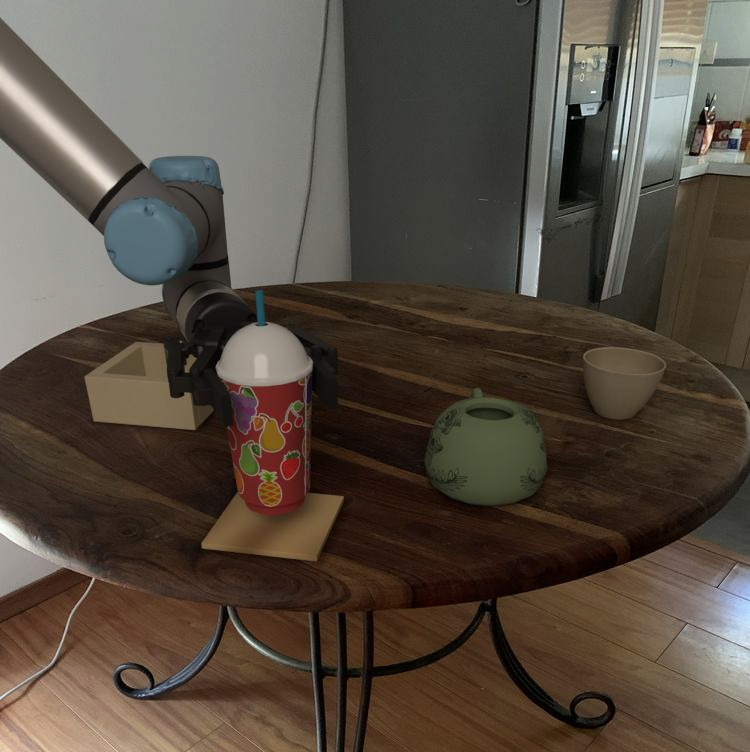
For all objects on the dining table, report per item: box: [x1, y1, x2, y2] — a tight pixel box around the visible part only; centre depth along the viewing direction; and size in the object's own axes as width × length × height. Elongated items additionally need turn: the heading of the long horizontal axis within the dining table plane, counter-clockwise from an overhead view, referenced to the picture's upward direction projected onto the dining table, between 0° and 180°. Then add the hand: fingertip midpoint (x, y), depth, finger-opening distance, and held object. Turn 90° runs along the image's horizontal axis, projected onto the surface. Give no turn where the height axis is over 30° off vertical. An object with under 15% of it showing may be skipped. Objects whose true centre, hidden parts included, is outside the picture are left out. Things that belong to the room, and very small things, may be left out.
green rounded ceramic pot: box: [423, 387, 548, 508], centre depth 78 cm, size 16×13×9 cm
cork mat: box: [201, 491, 345, 562], centre depth 72 cm, size 11×11×1 cm
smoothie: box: [215, 289, 313, 515], centre depth 65 cm, size 8×8×20 cm
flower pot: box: [582, 346, 667, 421], centre depth 94 cm, size 10×10×7 cm
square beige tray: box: [84, 341, 215, 431], centre depth 95 cm, size 14×14×6 cm
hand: (281, 402), depth 61 cm, fingers closed on smoothie, 8 cm apart
